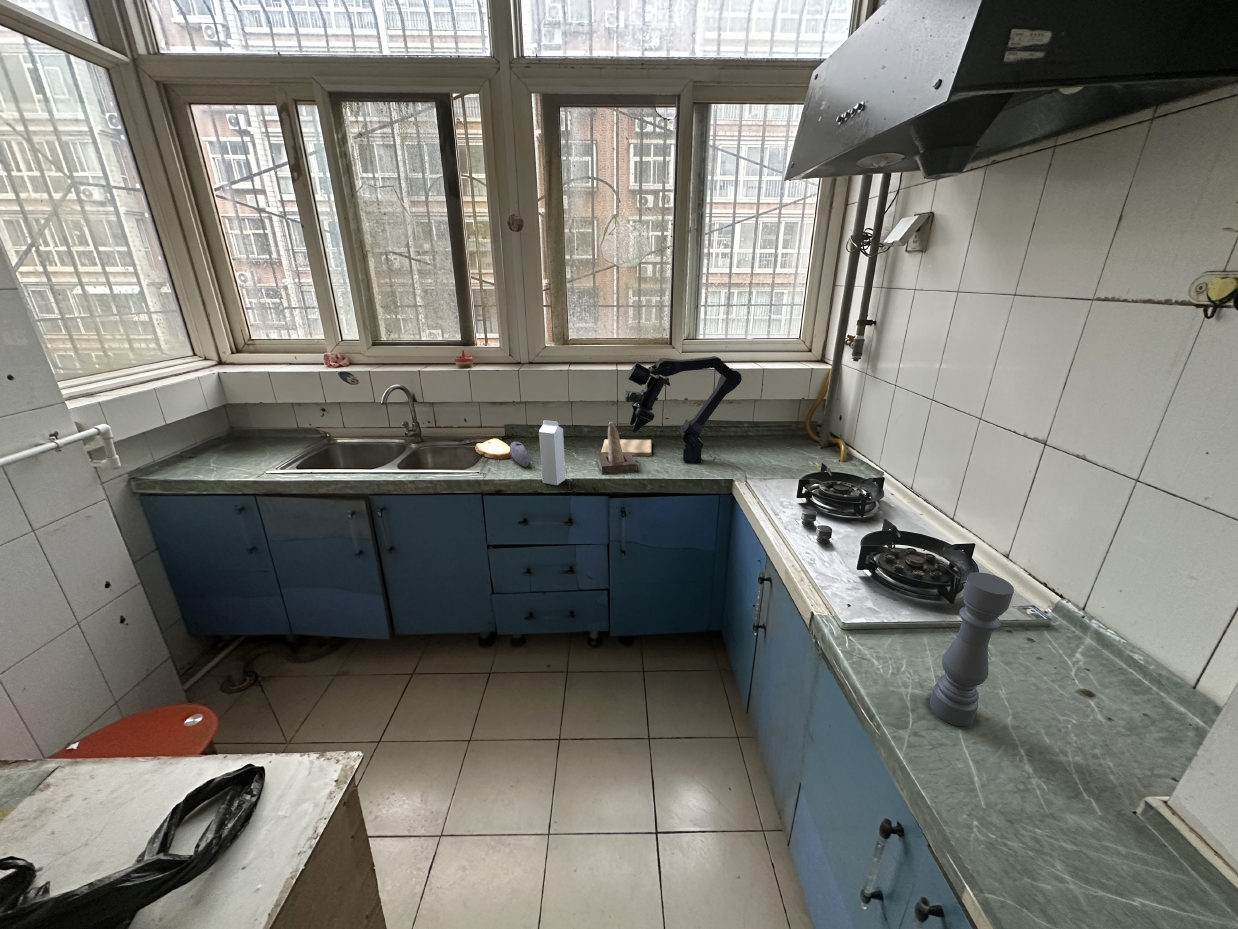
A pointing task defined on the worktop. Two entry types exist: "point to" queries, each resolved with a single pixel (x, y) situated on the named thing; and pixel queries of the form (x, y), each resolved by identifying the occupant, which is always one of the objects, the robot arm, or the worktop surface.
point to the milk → (552, 453)
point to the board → (631, 447)
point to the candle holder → (970, 649)
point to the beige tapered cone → (614, 445)
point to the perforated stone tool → (519, 453)
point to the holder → (617, 464)
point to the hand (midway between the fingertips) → (632, 428)
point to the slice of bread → (493, 449)
